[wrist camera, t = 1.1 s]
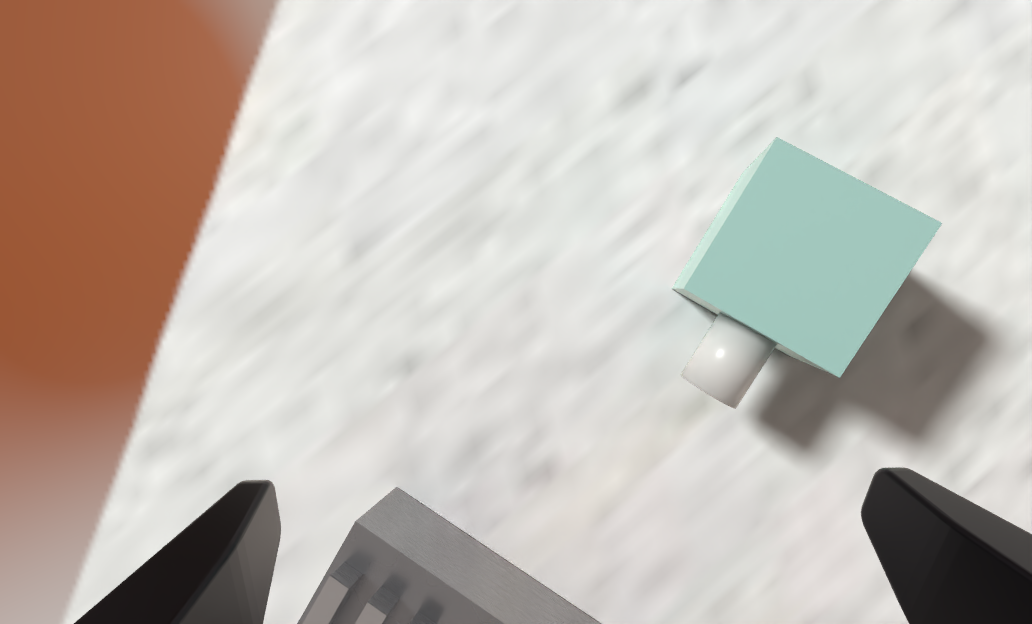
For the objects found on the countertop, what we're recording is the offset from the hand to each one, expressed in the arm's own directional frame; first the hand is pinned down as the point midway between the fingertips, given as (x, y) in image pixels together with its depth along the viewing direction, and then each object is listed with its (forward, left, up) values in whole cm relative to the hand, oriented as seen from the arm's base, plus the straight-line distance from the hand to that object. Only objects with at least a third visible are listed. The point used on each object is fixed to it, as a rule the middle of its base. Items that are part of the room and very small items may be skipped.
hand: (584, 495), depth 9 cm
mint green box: (-3, -5, -16) cm, 17 cm away
